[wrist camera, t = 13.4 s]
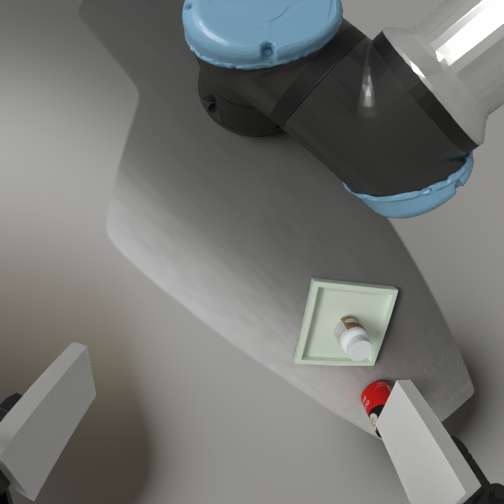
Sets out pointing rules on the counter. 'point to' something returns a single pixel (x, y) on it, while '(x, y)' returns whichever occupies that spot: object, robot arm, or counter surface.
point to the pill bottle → (352, 337)
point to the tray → (334, 306)
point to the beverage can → (376, 400)
